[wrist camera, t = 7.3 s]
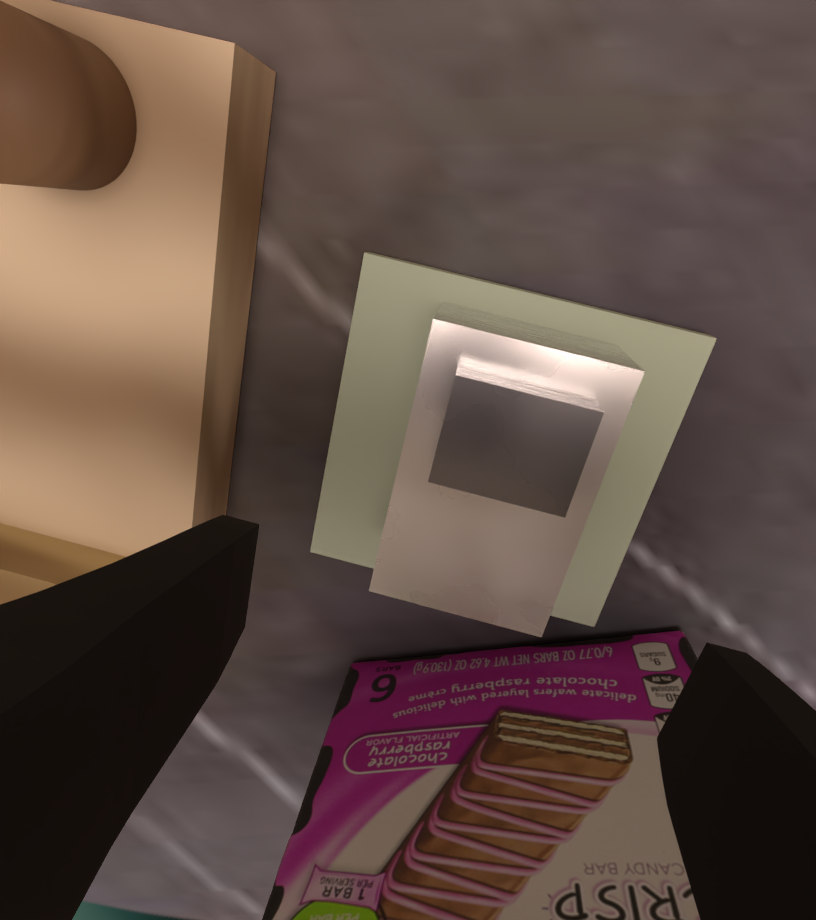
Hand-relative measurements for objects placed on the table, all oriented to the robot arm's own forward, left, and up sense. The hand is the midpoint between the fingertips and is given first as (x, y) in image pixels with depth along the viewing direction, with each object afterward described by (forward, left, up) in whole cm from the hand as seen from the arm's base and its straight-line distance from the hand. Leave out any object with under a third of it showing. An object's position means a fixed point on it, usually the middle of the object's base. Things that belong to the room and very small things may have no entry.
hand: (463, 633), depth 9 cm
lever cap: (0, 0, -8) cm, 8 cm away
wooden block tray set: (-1, +11, -8) cm, 14 cm away
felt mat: (0, 0, -8) cm, 8 cm away
